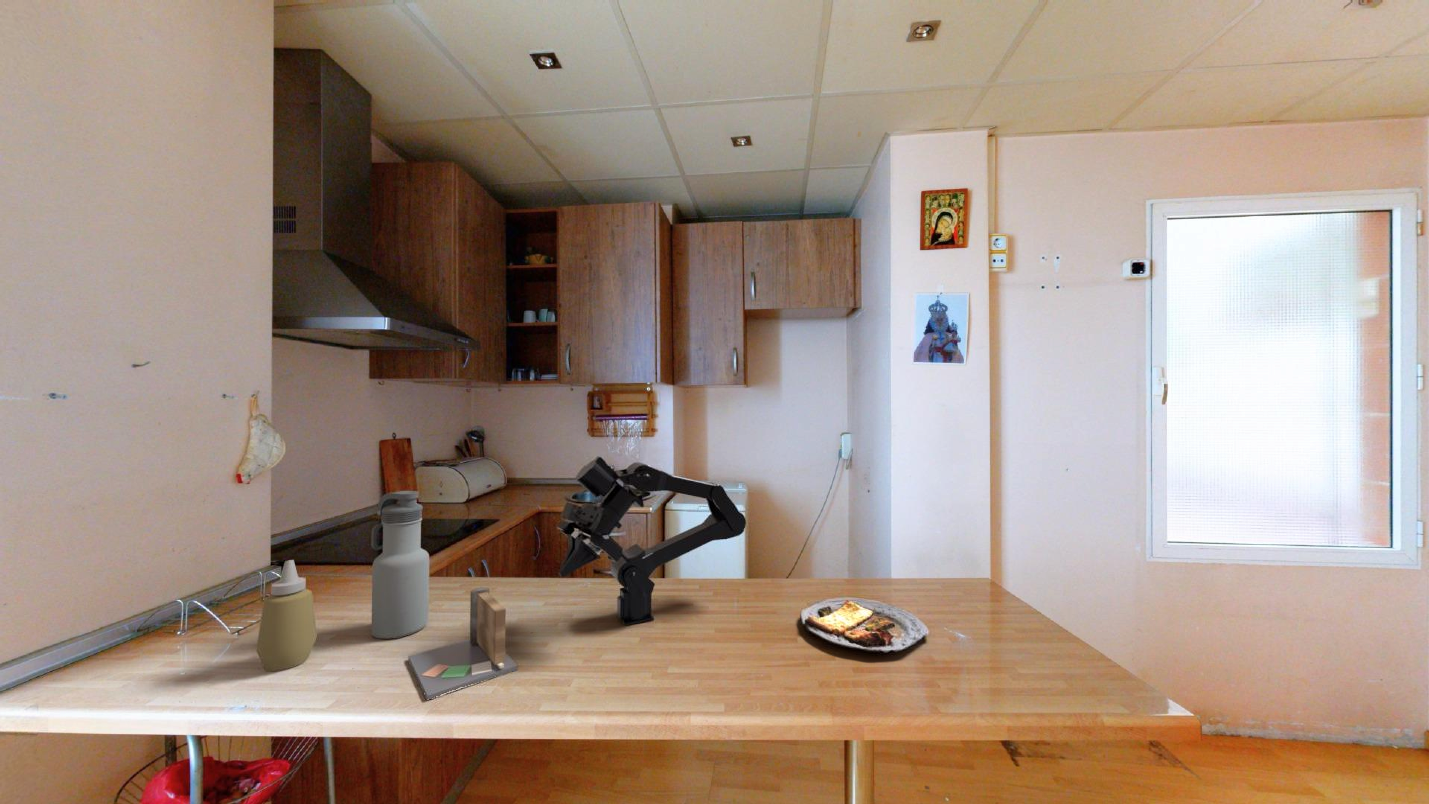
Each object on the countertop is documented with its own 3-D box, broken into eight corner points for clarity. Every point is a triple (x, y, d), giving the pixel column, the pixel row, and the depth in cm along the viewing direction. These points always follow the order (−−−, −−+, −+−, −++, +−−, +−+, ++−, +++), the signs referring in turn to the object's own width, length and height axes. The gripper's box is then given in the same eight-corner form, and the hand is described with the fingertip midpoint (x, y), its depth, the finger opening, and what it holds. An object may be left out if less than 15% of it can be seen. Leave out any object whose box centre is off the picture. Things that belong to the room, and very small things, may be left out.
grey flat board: (408, 660, 86) (408, 655, 86) (488, 637, 95) (488, 632, 95) (427, 701, 74) (427, 695, 74) (517, 670, 83) (517, 664, 83)
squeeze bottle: (247, 680, 79) (249, 571, 80) (265, 658, 86) (267, 557, 87) (309, 668, 83) (311, 564, 83) (321, 648, 90) (324, 552, 91)
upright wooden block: (467, 640, 91) (468, 590, 91) (485, 635, 93) (486, 586, 93) (492, 671, 80) (492, 614, 80) (511, 664, 82) (512, 609, 82)
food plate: (881, 674, 82) (881, 653, 82) (777, 629, 99) (777, 611, 99) (944, 634, 98) (944, 616, 98) (846, 601, 116) (846, 586, 116)
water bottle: (358, 634, 96) (361, 494, 96) (406, 615, 105) (408, 487, 105) (392, 644, 92) (395, 497, 92) (439, 623, 101) (441, 490, 101)
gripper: (566, 482, 105) (514, 541, 97) (609, 492, 91) (551, 563, 83) (599, 513, 110) (551, 572, 102) (643, 527, 96) (593, 597, 88)
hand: (560, 575), depth 94 cm, fingers closed
